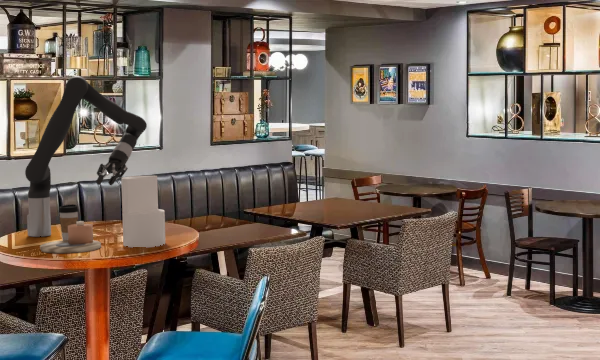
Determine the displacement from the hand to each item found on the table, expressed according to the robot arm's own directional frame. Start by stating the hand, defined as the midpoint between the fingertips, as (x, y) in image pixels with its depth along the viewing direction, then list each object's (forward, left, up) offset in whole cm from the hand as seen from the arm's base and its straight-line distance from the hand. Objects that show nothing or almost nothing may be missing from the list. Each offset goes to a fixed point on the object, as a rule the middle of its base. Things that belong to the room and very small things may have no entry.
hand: (103, 183), depth 358 cm
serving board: (-3, -22, -24) cm, 33 cm away
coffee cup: (-15, -4, -24) cm, 29 cm away
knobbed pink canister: (-2, -16, -23) cm, 28 cm away
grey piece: (+22, -6, -25) cm, 33 cm away
